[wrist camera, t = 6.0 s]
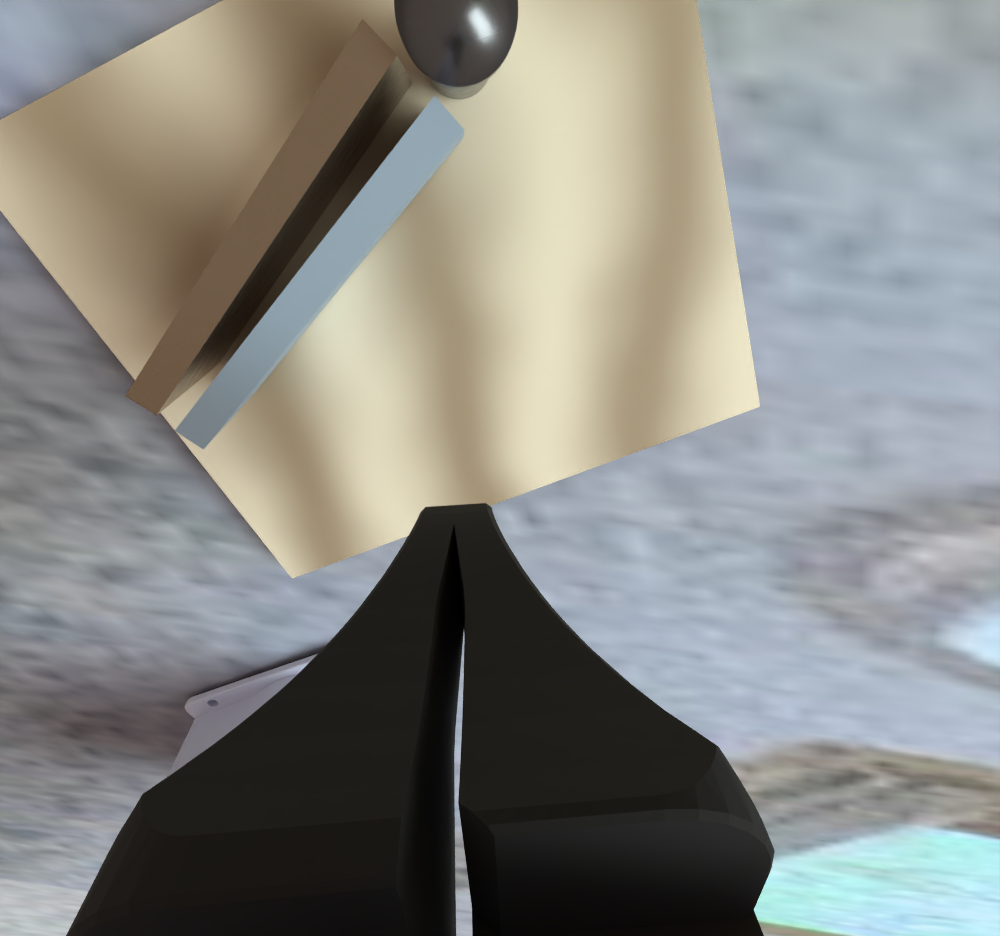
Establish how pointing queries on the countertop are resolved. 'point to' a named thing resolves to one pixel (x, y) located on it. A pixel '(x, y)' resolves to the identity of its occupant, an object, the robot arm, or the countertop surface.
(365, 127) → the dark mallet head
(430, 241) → the maple board
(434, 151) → the slate bar
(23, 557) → the countertop surface
